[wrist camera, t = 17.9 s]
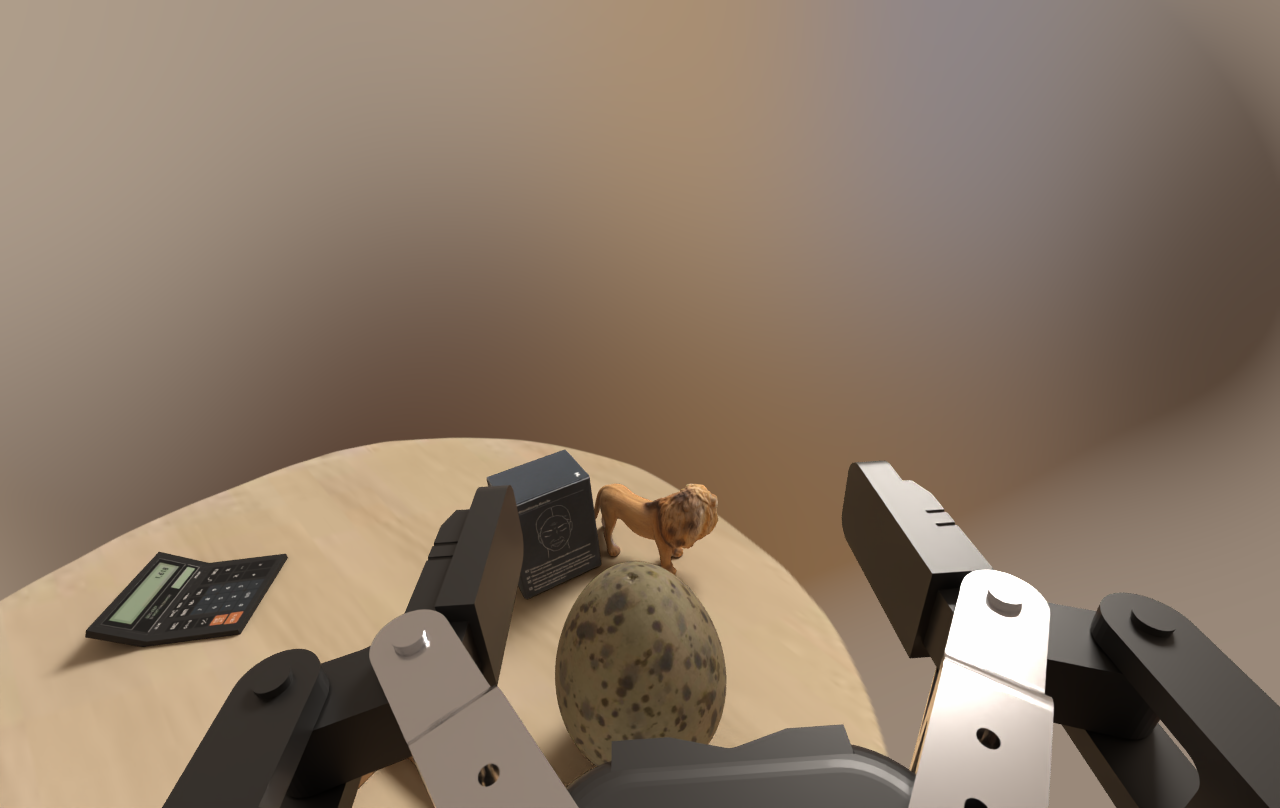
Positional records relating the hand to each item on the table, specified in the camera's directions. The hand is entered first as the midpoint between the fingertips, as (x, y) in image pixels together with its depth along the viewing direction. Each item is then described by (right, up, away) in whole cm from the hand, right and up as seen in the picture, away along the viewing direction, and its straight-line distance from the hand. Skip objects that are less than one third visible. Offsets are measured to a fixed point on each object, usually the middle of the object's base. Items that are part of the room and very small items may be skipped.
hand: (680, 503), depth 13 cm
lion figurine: (0, -12, +41) cm, 43 cm away
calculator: (-42, -16, +39) cm, 59 cm away
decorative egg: (-1, -21, +25) cm, 33 cm away
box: (-9, -13, +40) cm, 43 cm away
